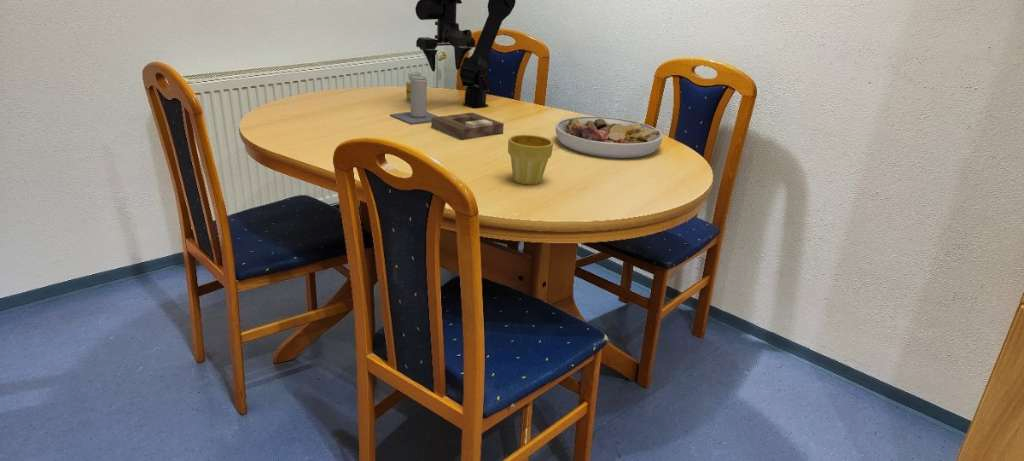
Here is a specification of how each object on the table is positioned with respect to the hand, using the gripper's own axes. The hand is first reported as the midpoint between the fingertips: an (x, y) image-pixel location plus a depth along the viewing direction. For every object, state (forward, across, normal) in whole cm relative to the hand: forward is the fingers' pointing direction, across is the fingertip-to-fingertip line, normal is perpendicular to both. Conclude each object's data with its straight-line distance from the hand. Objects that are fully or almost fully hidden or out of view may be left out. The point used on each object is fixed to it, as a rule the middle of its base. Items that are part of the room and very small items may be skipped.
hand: (445, 70), depth 212 cm
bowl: (+14, +19, -54) cm, 59 cm away
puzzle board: (+13, -8, -23) cm, 28 cm away
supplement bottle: (+13, -2, +15) cm, 20 cm away
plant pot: (+13, -22, -66) cm, 71 cm away
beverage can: (+13, -13, -4) cm, 18 cm away
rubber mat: (+13, -13, -4) cm, 19 cm away
